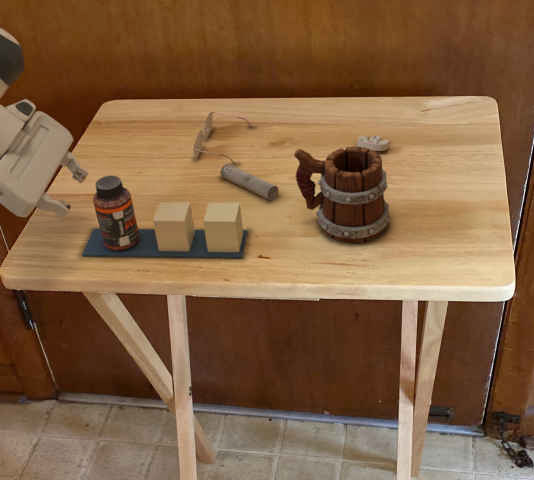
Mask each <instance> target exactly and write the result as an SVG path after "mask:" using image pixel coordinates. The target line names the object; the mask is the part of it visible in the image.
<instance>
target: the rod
mask: <svg viewBox="0 0 534 480" xmlns="http://www.w3.org/2000/svg"><path fill="white" fill-rule="evenodd" d="M219 173H220V176H221V177H222V179H225V180H227V181H229V182H231V183H233V184H236V185H238V186H240V187H242V188H244V189H246V190H248V191H250V192H252V193H254V194H256V195H258V196H261V197H263V198H264V199H266V200H268V201H273V200H275V199H276V198H277V197H278V195H279V187H278V185H276V184H274V183H271V182H268V180H265V179H263V178H260V177H258V176H256V175H253V174H251V173H249V172H248V171H245V170H243V169H241V168H239V167H236V166H234V165H232V164H230V163H226V164H224V165H223V166H222V167H221V169H220V172H219Z"/></svg>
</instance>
